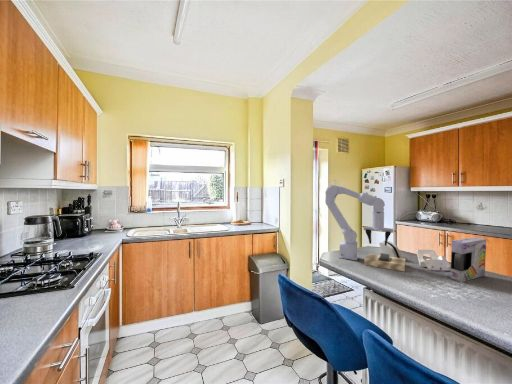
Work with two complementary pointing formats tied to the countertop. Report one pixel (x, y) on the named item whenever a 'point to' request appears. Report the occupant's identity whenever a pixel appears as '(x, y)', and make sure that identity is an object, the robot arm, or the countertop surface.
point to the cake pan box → (468, 258)
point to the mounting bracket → (433, 261)
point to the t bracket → (384, 257)
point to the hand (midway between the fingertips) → (377, 244)
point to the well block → (392, 264)
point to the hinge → (390, 249)
